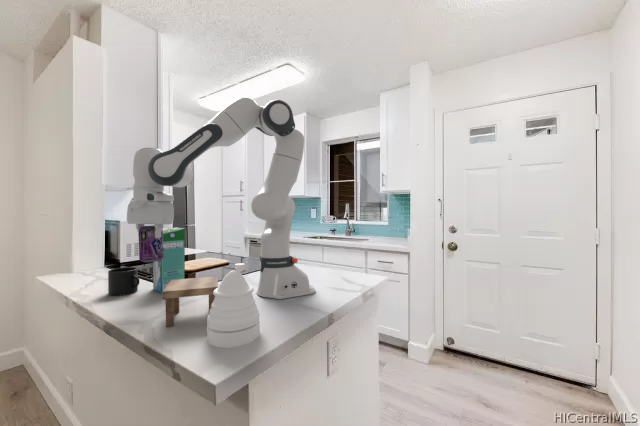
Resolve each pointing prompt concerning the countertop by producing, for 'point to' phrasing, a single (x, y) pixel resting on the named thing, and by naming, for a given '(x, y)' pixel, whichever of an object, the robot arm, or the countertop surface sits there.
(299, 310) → the countertop surface
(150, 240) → the beverage can
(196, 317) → the countertop surface
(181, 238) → the milk carton
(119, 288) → the mug
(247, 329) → the honey pot
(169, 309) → the walnut stool
